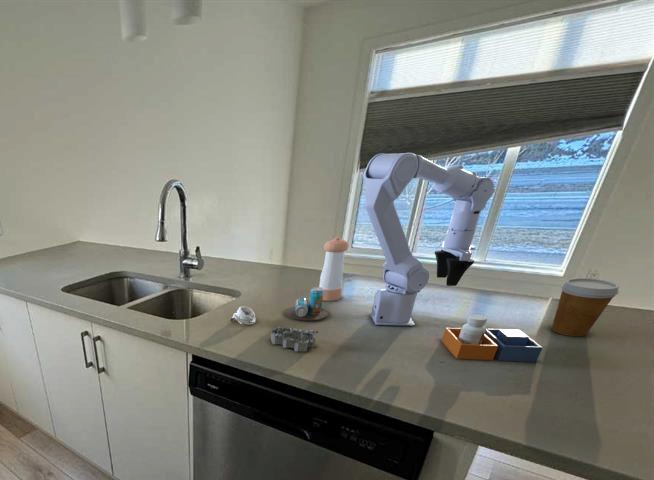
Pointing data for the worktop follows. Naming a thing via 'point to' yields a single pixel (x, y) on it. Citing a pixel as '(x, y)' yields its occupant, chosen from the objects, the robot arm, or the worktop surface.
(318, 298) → the round serving tray
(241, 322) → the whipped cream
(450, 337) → the amber bin
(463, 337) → the pill bottle
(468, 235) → the robot arm
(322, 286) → the pepper shaker
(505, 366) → the worktop surface
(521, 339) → the blue block
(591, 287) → the disposable coffee cup
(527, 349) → the blue bin
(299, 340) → the egg carton
